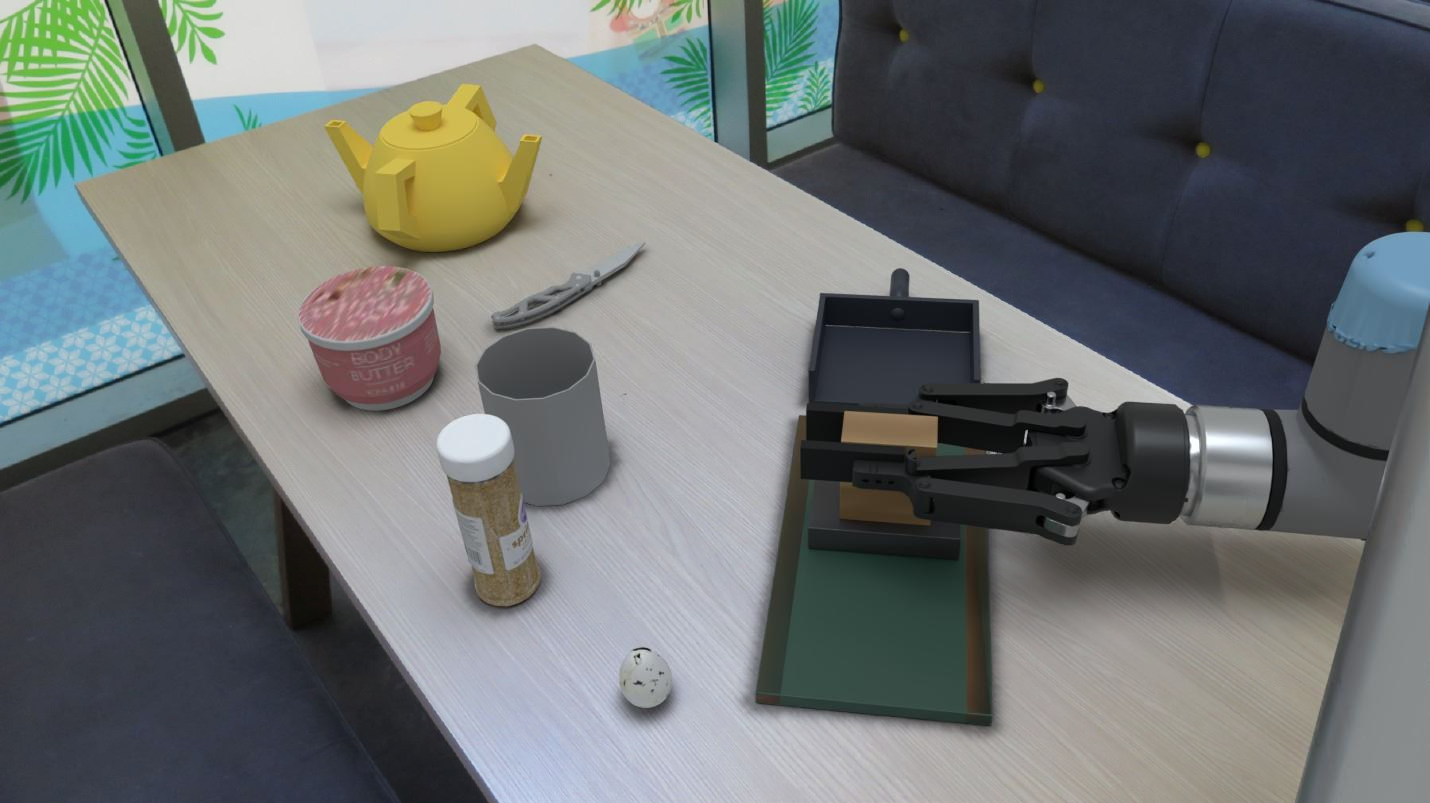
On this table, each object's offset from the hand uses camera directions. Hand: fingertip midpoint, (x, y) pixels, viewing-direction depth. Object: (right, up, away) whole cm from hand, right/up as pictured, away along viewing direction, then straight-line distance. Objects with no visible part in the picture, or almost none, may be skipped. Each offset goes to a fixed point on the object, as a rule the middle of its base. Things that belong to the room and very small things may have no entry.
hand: (804, 440), depth 78 cm
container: (-33, +4, +21) cm, 40 cm away
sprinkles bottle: (-20, -10, +3) cm, 23 cm away
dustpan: (+9, +7, +21) cm, 24 cm away
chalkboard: (+6, -8, +3) cm, 10 cm away
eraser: (+6, -6, +4) cm, 9 cm away
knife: (-18, +12, +30) cm, 37 cm away
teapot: (-32, +21, +41) cm, 56 cm away
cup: (-18, -3, +12) cm, 22 cm away
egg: (-10, -16, -5) cm, 19 cm away
